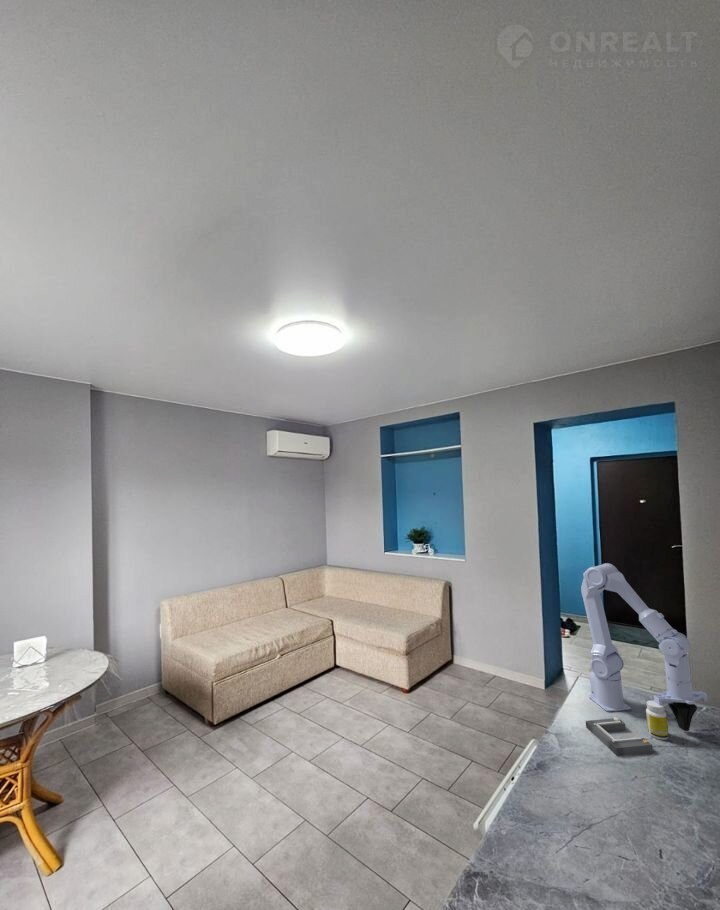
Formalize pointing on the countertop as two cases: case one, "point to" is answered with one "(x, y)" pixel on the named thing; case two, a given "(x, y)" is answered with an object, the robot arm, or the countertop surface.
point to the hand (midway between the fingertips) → (683, 728)
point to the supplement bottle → (657, 720)
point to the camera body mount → (619, 745)
